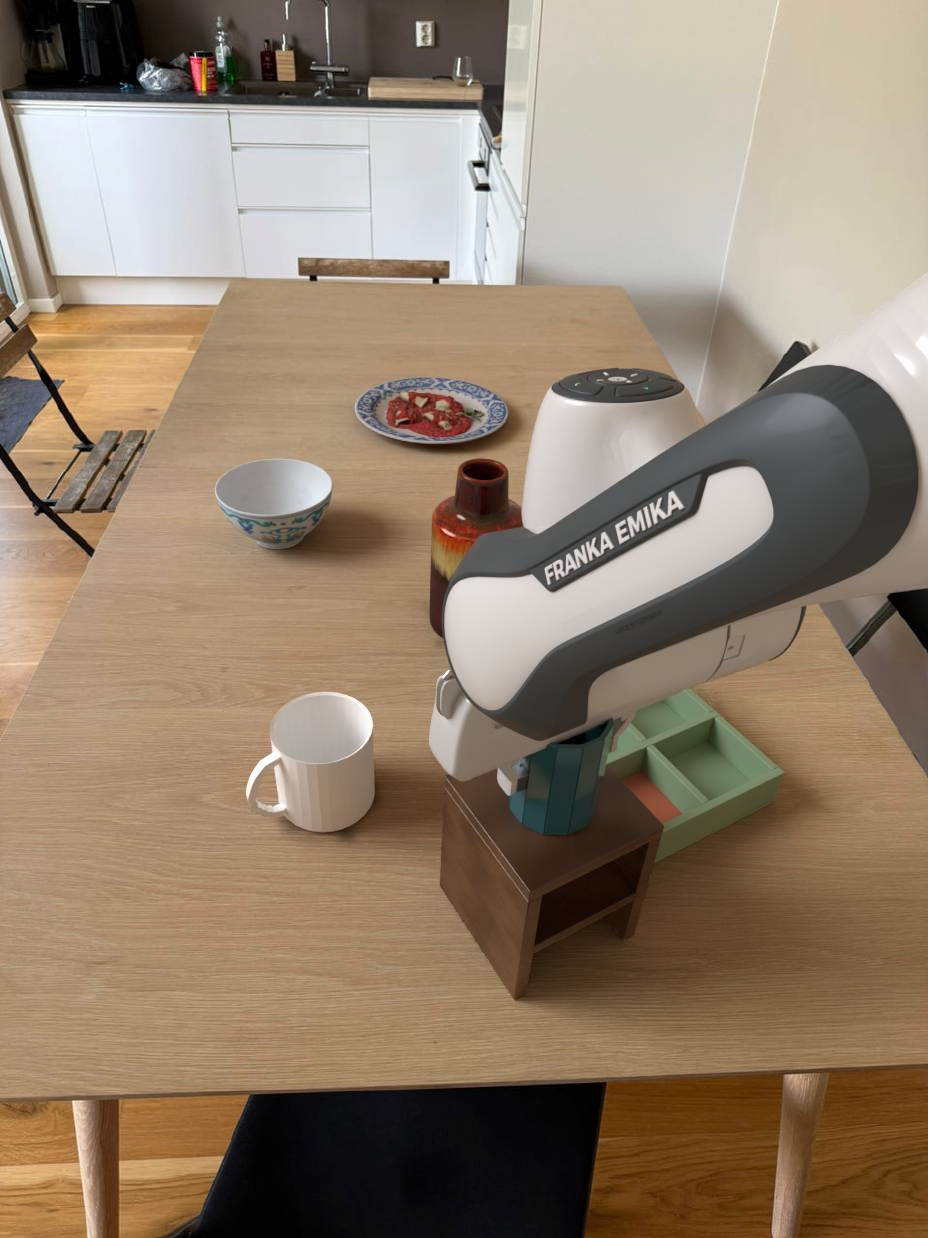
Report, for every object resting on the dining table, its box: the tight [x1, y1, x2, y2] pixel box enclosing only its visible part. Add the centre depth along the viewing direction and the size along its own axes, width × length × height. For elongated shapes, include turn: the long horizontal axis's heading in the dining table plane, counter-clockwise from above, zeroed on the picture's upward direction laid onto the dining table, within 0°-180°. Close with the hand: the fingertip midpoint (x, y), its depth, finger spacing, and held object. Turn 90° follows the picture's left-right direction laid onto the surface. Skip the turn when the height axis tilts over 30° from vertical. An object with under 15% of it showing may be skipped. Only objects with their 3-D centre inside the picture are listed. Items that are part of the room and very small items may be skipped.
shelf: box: [439, 764, 664, 1000], centre depth 71 cm, size 12×12×14 cm
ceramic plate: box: [354, 376, 509, 445], centre depth 150 cm, size 26×26×3 cm
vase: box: [429, 457, 523, 639], centre depth 101 cm, size 11×11×20 cm
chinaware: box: [214, 458, 334, 550], centre depth 118 cm, size 15×15×8 cm
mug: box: [245, 691, 376, 834], centre depth 81 cm, size 12×9×9 cm
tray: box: [606, 688, 786, 864], centre depth 87 cm, size 18×18×4 cm
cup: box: [508, 718, 614, 836], centre depth 64 cm, size 7×7×9 cm
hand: (557, 766), depth 65 cm, fingers closed on cup, 6 cm apart
